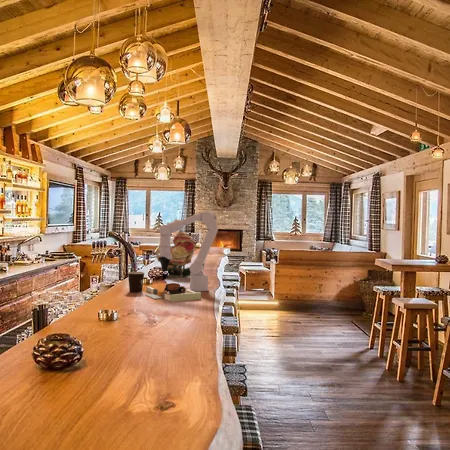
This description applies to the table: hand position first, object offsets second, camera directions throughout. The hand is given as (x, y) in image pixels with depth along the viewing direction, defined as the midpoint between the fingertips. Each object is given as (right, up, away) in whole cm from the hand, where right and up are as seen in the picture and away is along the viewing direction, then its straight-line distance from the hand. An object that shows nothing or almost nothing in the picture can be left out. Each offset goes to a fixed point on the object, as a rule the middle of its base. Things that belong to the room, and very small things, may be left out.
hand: (164, 270), depth 247 cm
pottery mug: (+8, -11, -24) cm, 28 cm away
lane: (+6, -11, -18) cm, 22 cm away
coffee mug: (-13, -10, -10) cm, 19 cm away
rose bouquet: (+2, -9, +51) cm, 52 cm away
